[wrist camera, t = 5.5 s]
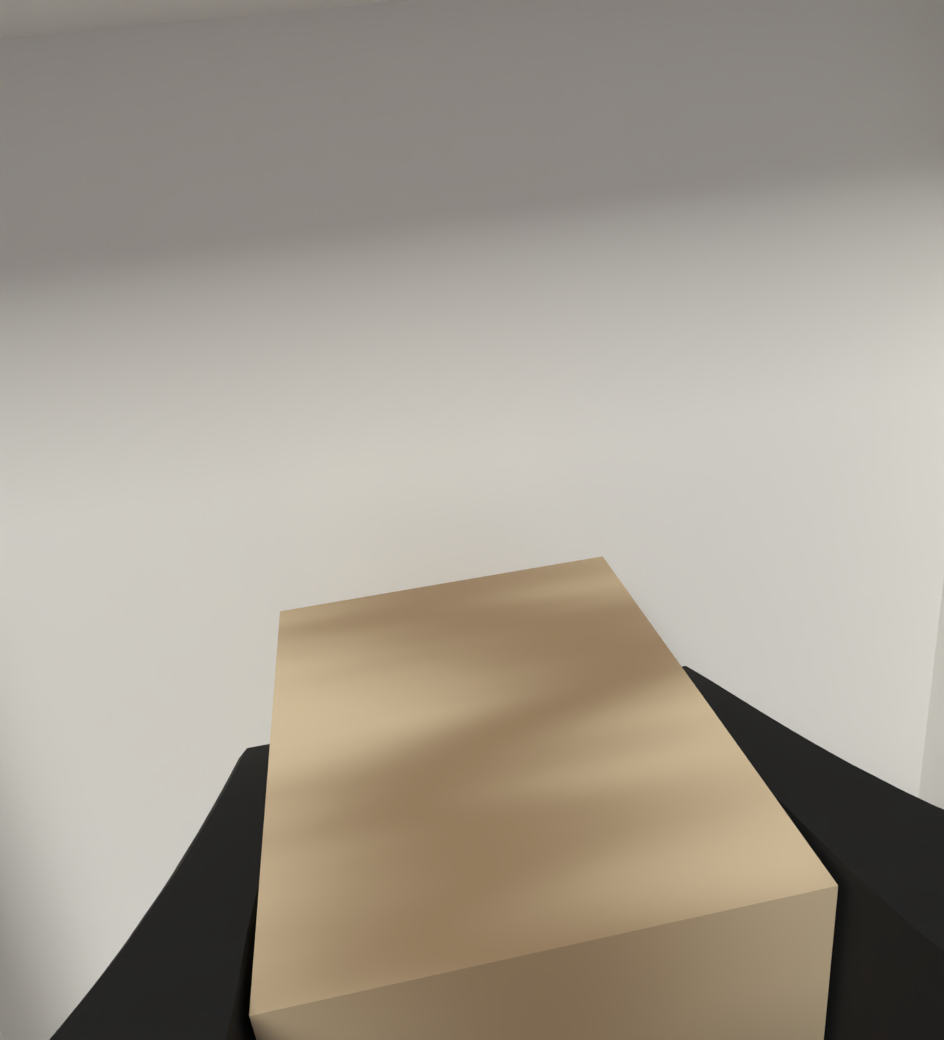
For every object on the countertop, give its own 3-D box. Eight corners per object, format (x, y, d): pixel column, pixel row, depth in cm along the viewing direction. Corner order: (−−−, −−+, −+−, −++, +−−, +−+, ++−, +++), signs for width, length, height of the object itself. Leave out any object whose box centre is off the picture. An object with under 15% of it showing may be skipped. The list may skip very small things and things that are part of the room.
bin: (1060, -137, 12) (1448, -301, 8) (924, 923, 20) (1085, 1120, 16) (-534, -4, 10) (-1153, -134, 6) (13, 1133, 17) (-82, 1427, 13)
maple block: (602, 556, 12) (837, 885, 7) (614, 804, 14) (805, 1223, 8) (280, 611, 12) (249, 1015, 6) (335, 861, 13) (349, 1344, 8)
